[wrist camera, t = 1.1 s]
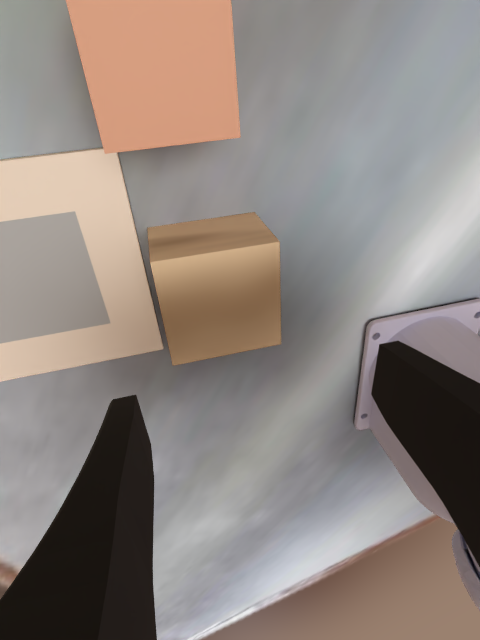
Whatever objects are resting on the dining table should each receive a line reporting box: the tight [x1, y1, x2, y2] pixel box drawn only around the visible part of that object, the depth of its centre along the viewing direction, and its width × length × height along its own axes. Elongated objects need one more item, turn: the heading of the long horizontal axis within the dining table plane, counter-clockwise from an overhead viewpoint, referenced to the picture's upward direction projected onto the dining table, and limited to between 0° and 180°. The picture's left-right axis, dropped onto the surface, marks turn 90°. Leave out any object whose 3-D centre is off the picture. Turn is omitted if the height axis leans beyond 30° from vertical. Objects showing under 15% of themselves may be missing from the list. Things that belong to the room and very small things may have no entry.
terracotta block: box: [66, 0, 240, 154], centre depth 12 cm, size 4×4×5 cm
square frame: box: [0, 147, 163, 382], centre depth 17 cm, size 10×10×1 cm
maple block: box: [147, 212, 281, 366], centre depth 18 cm, size 5×5×4 cm
